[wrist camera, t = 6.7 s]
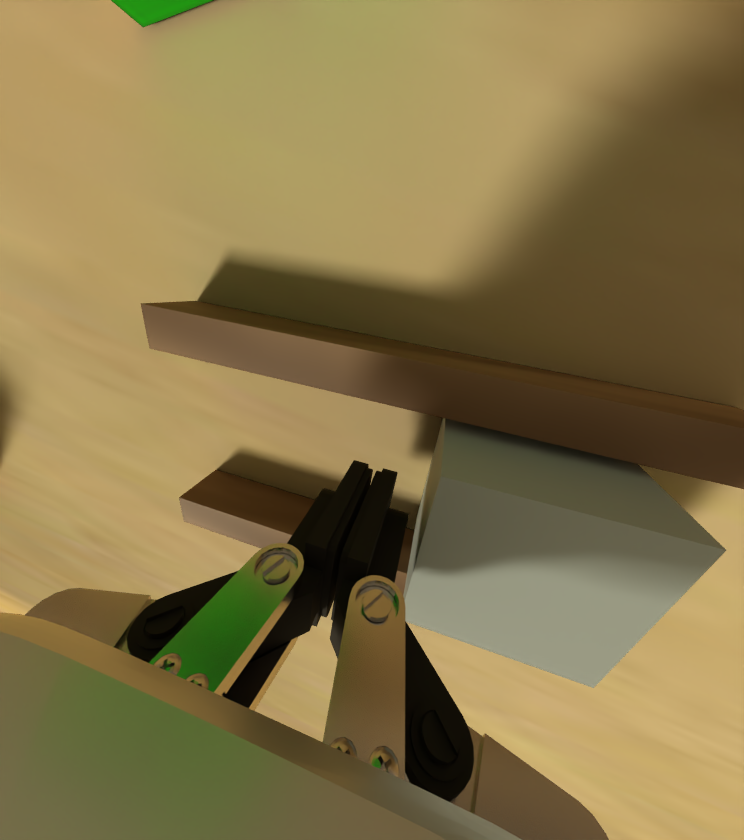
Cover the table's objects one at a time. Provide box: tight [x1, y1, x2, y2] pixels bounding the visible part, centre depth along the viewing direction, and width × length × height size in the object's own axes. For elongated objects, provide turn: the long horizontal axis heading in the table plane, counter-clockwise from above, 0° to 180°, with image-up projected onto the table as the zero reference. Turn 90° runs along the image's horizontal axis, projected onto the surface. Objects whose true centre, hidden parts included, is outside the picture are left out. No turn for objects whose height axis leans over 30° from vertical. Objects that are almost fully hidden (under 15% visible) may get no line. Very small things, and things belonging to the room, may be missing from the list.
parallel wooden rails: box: [141, 301, 744, 595], centre depth 11 cm, size 18×35×3 cm, turn 82°
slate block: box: [403, 418, 726, 688], centre depth 10 cm, size 6×6×5 cm
